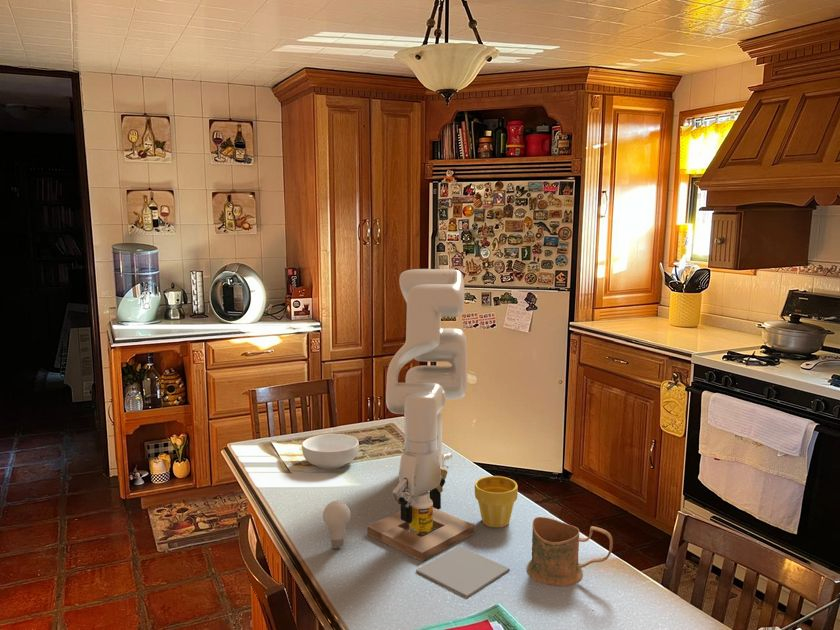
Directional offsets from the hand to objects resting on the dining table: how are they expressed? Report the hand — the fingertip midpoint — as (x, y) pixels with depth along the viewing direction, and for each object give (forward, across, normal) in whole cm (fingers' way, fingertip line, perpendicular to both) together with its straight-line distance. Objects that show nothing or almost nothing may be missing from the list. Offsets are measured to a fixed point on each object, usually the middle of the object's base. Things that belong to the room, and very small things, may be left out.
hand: (421, 514), depth 159 cm
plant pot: (+5, -17, +9) cm, 20 cm away
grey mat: (+5, +6, +18) cm, 20 cm away
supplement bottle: (+5, 0, 0) cm, 5 cm away
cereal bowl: (+5, -13, -50) cm, 52 cm away
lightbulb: (+5, +18, -9) cm, 21 cm away
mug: (+5, -8, +35) cm, 36 cm away
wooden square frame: (+5, 0, 0) cm, 5 cm away
